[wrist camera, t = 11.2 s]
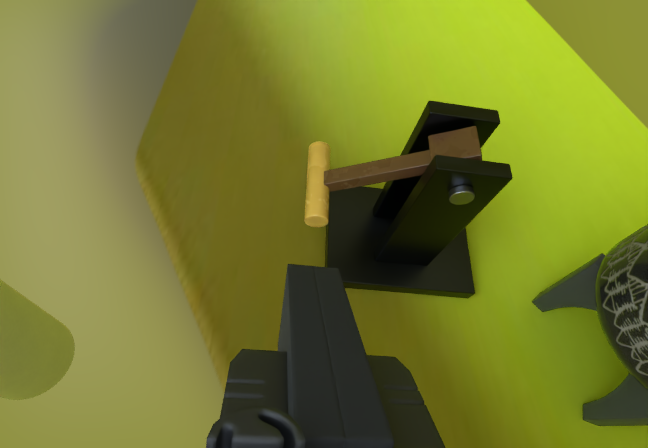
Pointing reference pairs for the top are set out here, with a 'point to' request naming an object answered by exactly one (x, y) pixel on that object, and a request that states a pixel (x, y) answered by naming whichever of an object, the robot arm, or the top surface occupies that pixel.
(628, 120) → the top surface
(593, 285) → the planter
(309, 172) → the lever
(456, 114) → the bracket
